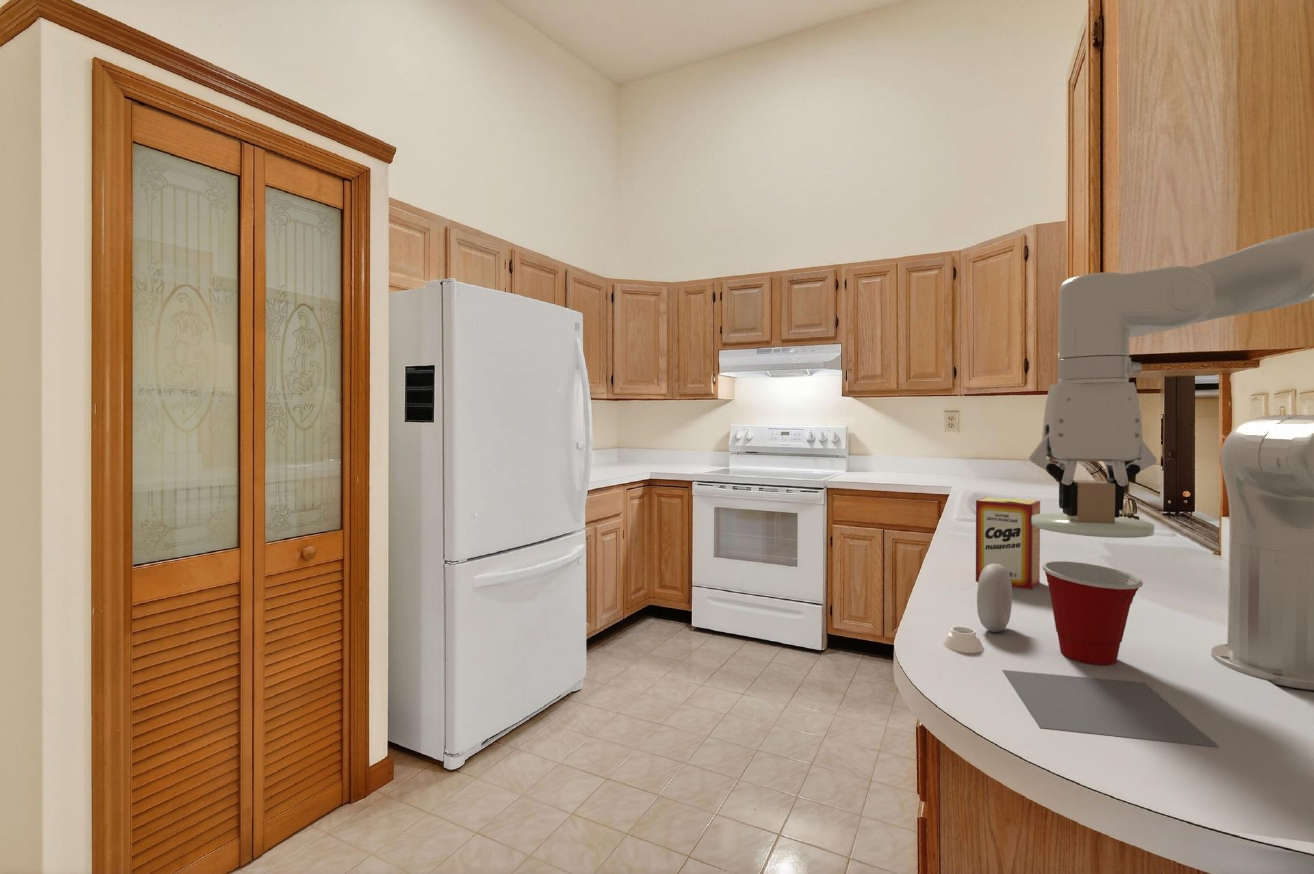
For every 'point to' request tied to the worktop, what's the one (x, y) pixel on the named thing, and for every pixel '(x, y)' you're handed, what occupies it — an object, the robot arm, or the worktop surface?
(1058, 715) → the mat
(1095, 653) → the plastic cup
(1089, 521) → the lid
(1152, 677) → the worktop surface
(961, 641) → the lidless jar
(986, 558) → the baking soda box
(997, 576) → the donut
